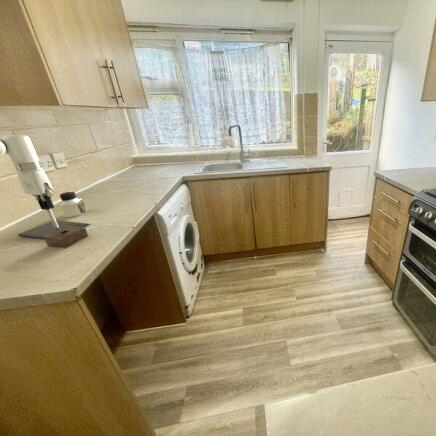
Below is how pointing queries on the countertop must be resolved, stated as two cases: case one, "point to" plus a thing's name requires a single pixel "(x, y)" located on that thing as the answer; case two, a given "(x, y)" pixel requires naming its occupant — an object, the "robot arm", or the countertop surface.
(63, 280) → the countertop surface
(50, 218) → the stylus
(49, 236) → the pen stand
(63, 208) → the medicine bottle
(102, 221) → the countertop surface
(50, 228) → the plate
